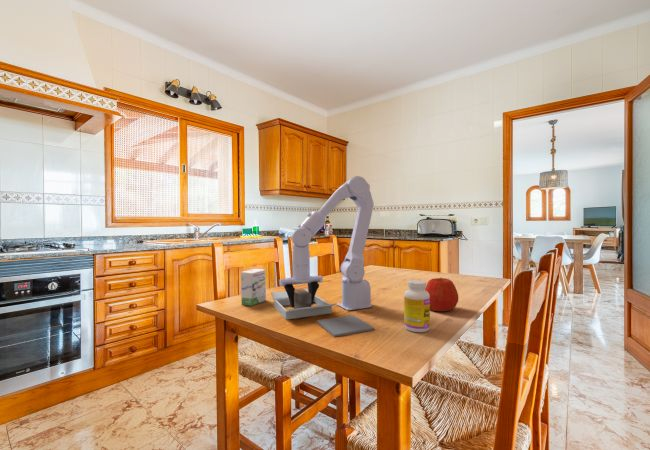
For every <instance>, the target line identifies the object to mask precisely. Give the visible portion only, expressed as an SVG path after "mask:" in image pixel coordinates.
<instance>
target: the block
mask: <svg viewBox="0 0 650 450" xmlns="http://www.w3.org/2000/svg"><path fill="white" fill-rule="evenodd" d="M304 289H305V288H298V289H295V291H294V307H293V308H292V309H297V308H305V307H312V305H311V293H309V292H307V291H306V290H304Z"/></svg>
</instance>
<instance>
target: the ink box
mask: <svg viewBox="0 0 650 450" xmlns="http://www.w3.org/2000/svg"><path fill="white" fill-rule="evenodd" d="M266 274H267V273H266V269H262V268H251V269H248V270H244V271H241V272H240V283H241V285H240V289H241V290H240V293H241V294H240V295H241V299H240V300H241V305H243V306H249V307H252V306H255V305H258V304H260V303H263V302H266V301H267V290H266V289H267V288H266V287H267V285H266V281H267V280H266V277H267V276H266Z"/></svg>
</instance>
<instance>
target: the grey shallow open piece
mask: <svg viewBox="0 0 650 450" xmlns="http://www.w3.org/2000/svg"><path fill="white" fill-rule="evenodd" d="M303 289H304V290H306V291H307V292H309V291H308V288H303ZM270 293H271V297H272V299H273V307H274V308H275V309H276V311H277V312H278V313H279V314H280V315H281V316H282V317H283V319H284V320H286V321H287V320H294V319H299V318H307V317H308V318H309V317H314V316H321V315H328V314H332V312H333V308H332V307H333V306H338V305H337V304H338V302H336V303H329V302H327V301H325V300H324V299H323V298H321V297H319V296H318V295H316V294H315V297H314V301H313V303H314V302H315V303H314V304H315V306H314V305H311V307H305V308H297V309H294V308H291V309H286V308H285V306H290V301H289V297H288V294H287V292H286V290H285V291H284V290H283V291H275V292H270Z"/></svg>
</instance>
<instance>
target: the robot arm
mask: <svg viewBox="0 0 650 450" xmlns="http://www.w3.org/2000/svg"><path fill="white" fill-rule="evenodd" d="M370 189H371V186H370V184H369V183H368V181H367V180H366V179H365V177H363V176H360V175H356V176H355V175H354V176H353V177H352V178H350V179H347V180H346V181H345V182H344V183H343V184H342V185H340V186H339V187H338V188H337V189H336V190H335V191H334V192H333V193H332V194H331V196H330V197H329V198H328V199H327V200H326V201H325V203H324V204H322V207H320V209H318V210H315V211H314V210H313V211H311V212H308V213H307V215H306V216H307V217H306V218H305V220H303V222H302V223H300V224H298V225H297V228H298V229H295V230H293V232H292V234H291V237H290V239H291V242H292V254H291V255H292V256H291V257H292V260H291V261H292V277H286V278H280V279H279V281H278V282H279V284H278V285H279V286H280V287H283V288H284V290H285V291H286V292H287V294H288V297H289V301H290V305H289V306H290V308H291V309H294V308H293V307H294V291H295V290H296V288H295V287H294V285H302V284H303V285H305V284H307V289H308V291H309V293H311V306H314V305H313V304H314V302H313V301H314V297H315V295H316V293H317V291H318V289H319V288H320V283H323V281H324V280H323V276H322V275H311V274H310V273H311V266H310V264H311V263H310V260H311V258H310V257H311V256H310V252H311V251H310V243H311V240H312V237H314V236H316V234H317V233H318V231H320V230H321V228H322V227H323V226H324V225H325V224H326V218H327V216H328V215H329V214H330V213H331V212H332V211H333V210H334V209H335V208H337V207H336V206H338V204H340V203H341V201H343V200H345V199H346V200H347V199H350V200H352V201H353V202H354V204H355V206H356V207H357V210H356V215H355V220H354V224H353V228H352V233H351V237H350V243H349V247H348V251H347V253H346V254H345V257H344V260H343V262H342V263H341V265H340V266H339V267H340V272H341V274H342V275H343V276H342V278H341V302H337V305H336V306H339V307H341V308H343V310H346V311H354V310H361V309H367V308H368V309H369V308H372V307H373V305H372V303H371V302H372V300H371V299H372V297H371V292H372V291H371V290H372V289H371V286H370V283H369V281H368V280H367V279H363V278H364V276H365V274H366V273H365V267H364V264H365V259H364V251H365V247H366V244H367V243H366V242H367V238H368V234H369V228H370V224H371V219H372V214H373V210H374V206H375V205H374V204H375V203H374V199H373V197H372V196H373V195H372V193H371V190H370Z"/></svg>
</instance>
